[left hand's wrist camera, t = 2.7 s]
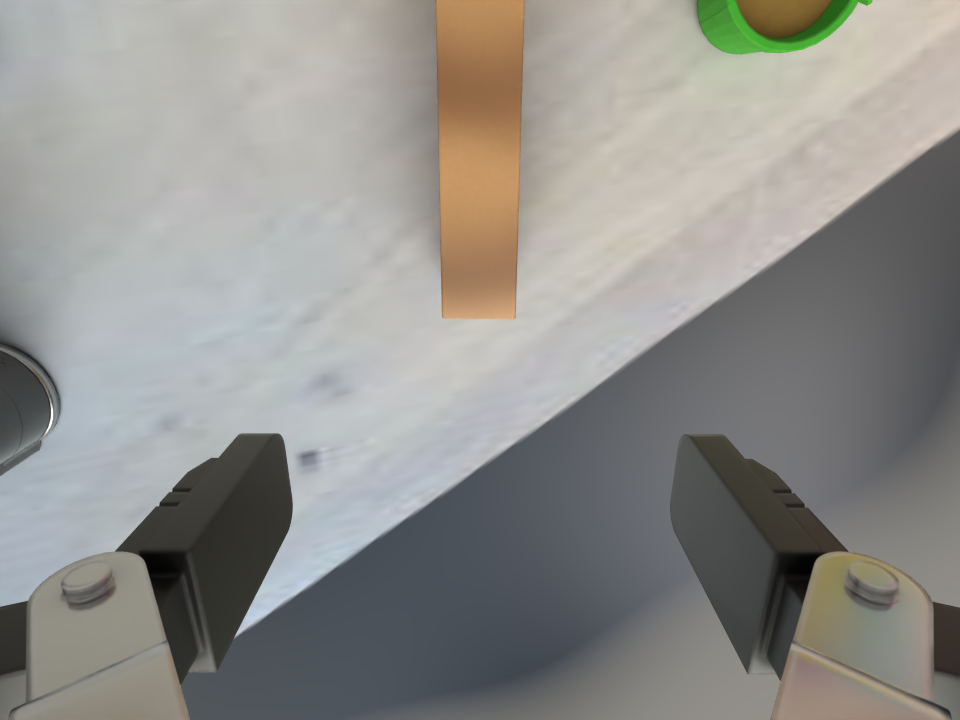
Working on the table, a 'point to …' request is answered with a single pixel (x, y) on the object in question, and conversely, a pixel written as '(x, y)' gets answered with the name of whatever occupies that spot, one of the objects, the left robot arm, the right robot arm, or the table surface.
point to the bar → (479, 154)
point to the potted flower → (771, 23)
